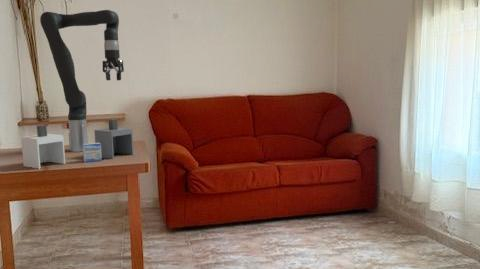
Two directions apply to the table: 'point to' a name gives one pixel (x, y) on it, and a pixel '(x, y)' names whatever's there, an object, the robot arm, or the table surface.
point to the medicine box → (92, 152)
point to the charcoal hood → (114, 140)
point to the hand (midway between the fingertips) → (113, 80)
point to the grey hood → (42, 148)
